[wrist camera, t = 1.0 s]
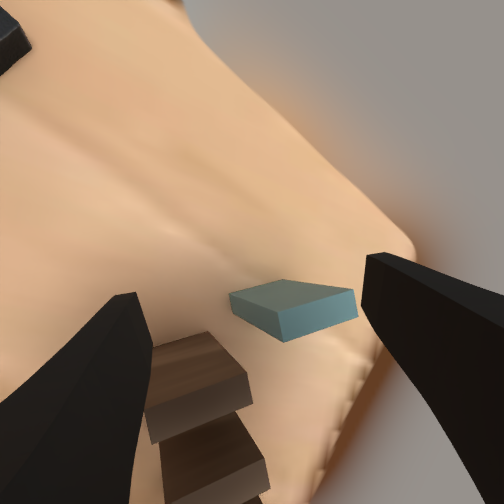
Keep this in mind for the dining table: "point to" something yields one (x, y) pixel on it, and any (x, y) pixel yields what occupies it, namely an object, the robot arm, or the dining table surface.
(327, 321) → the teal domino
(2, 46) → the disk drive
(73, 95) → the dining table surface
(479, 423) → the robot arm
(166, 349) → the walnut domino
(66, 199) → the dining table surface
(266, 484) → the walnut domino
